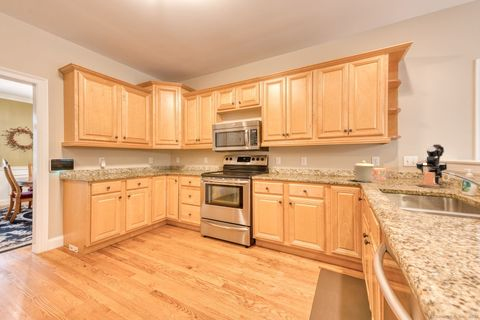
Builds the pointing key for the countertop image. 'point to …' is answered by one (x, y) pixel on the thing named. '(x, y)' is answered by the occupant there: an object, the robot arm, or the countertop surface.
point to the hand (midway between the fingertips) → (429, 173)
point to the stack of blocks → (379, 174)
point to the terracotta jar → (429, 178)
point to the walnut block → (429, 186)
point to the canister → (363, 172)
